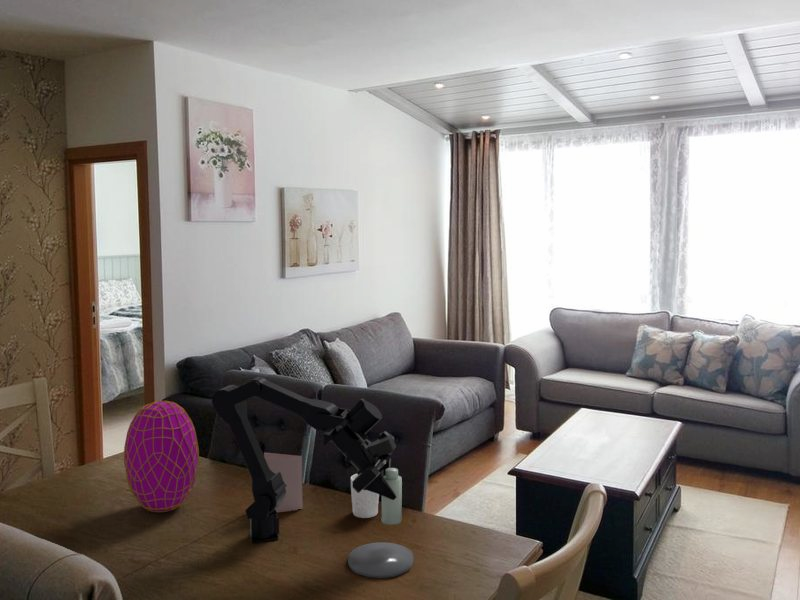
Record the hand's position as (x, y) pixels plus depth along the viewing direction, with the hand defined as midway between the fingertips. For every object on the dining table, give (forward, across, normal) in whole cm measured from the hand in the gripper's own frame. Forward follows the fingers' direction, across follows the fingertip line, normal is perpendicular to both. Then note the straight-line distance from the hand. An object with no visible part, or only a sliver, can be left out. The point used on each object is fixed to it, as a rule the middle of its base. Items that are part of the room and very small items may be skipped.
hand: (397, 494), depth 160 cm
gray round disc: (+8, -7, +11) cm, 15 cm away
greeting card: (-16, +16, +35) cm, 42 cm away
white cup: (+1, +19, +19) cm, 27 cm away
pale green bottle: (+4, 0, +6) cm, 7 cm away
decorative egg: (-38, +11, +58) cm, 70 cm away
